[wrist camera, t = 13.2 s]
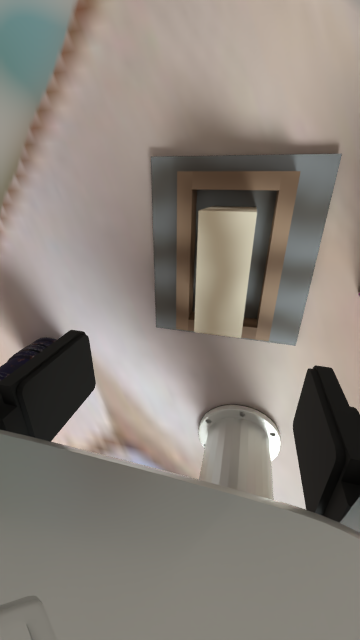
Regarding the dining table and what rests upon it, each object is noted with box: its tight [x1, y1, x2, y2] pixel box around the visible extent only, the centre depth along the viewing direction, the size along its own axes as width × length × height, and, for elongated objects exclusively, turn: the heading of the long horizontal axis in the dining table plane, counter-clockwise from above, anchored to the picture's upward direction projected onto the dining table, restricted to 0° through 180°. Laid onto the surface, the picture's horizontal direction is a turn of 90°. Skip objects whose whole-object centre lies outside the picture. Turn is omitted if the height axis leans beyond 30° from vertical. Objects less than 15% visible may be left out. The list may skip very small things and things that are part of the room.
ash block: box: [194, 206, 257, 338], centre depth 26 cm, size 4×11×8 cm, turn 0°
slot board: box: [151, 154, 342, 346], centre depth 29 cm, size 20×18×4 cm
